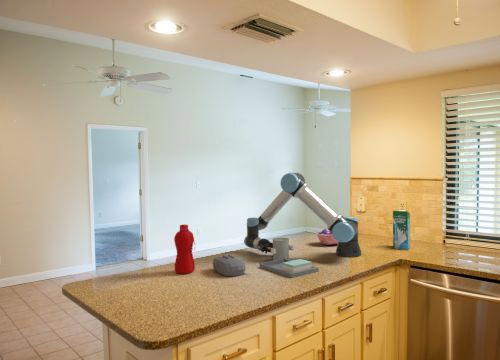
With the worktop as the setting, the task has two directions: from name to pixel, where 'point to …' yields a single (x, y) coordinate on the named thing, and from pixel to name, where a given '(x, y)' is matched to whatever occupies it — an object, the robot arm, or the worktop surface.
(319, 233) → the cell model
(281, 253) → the speckled grey can
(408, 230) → the milk carton
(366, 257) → the worktop surface
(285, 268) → the teal sponge
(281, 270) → the tote tray
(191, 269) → the water bottle
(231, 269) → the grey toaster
